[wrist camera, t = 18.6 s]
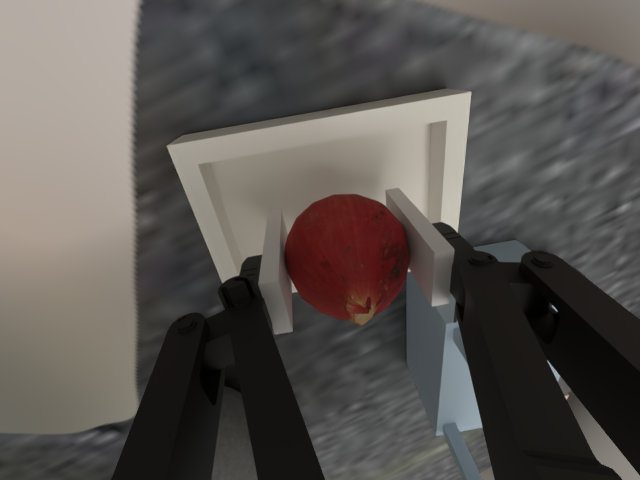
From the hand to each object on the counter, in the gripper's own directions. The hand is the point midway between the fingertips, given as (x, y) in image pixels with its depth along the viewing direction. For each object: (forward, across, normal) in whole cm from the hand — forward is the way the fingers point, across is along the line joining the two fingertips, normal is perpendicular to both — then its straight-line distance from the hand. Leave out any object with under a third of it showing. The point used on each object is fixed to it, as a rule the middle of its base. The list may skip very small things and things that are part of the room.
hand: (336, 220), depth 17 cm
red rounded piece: (+1, 0, 0) cm, 1 cm away
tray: (+4, 0, 0) cm, 4 cm away
